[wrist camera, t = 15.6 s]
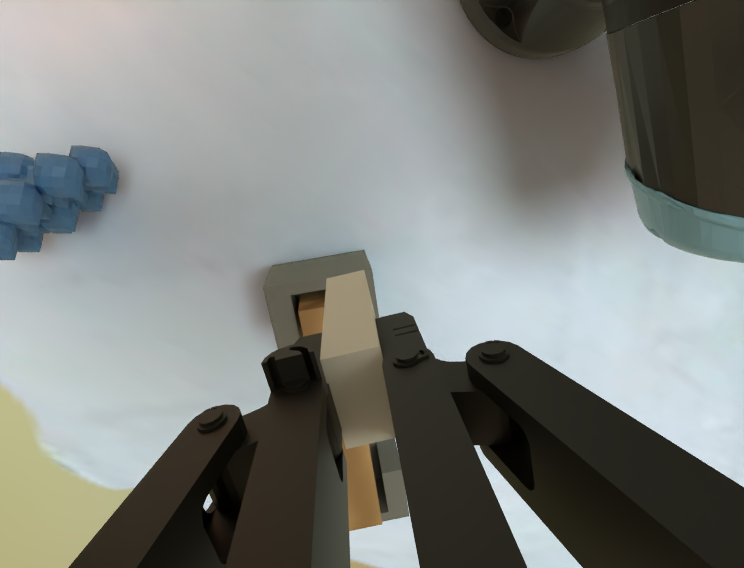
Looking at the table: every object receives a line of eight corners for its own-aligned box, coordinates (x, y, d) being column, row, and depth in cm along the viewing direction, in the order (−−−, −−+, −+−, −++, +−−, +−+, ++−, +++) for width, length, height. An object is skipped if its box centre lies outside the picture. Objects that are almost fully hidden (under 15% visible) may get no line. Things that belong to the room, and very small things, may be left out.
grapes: (103, 105, 34) (-6, 85, 23) (165, 177, 36) (93, 190, 25) (-4, 194, 35) (-160, 216, 24) (62, 258, 37) (-52, 307, 26)
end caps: (364, 250, 40) (371, 269, 34) (398, 468, 48) (409, 515, 42) (272, 265, 39) (263, 287, 33) (322, 483, 47) (322, 533, 41)
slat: (340, 280, 38) (344, 303, 33) (375, 476, 45) (382, 524, 40) (301, 287, 38) (298, 311, 33) (342, 483, 45) (344, 531, 40)
